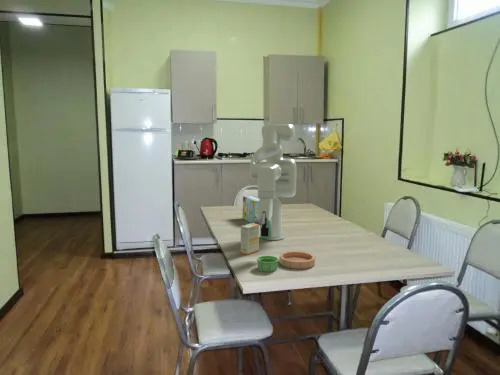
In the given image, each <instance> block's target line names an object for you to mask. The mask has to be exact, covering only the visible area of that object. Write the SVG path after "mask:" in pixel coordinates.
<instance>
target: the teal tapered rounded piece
mask: <svg viewBox="0 0 500 375" xmlns="http://www.w3.org/2000/svg"><path fill="white" fill-rule="evenodd" d="M265 220H267V219H265ZM261 222H262V219H261V220H260V225H259V237H260V238H259V239H262V240H266V239H270V238H271V235H272V219H270V220H269V221H268V227H269V228H268V237H267V236H261ZM265 223H266V222H265Z"/></svg>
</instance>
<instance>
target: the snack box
mask: <svg viewBox="0 0 500 375" xmlns="http://www.w3.org/2000/svg"><path fill="white" fill-rule="evenodd" d="M259 199H260V198H258V197H255V196H252V195H243V196H242V219H244V220H245V221H246V222H248V223H249V224H250V223H254V224H259V226H260V221H259V220H258V211H259Z"/></svg>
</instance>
